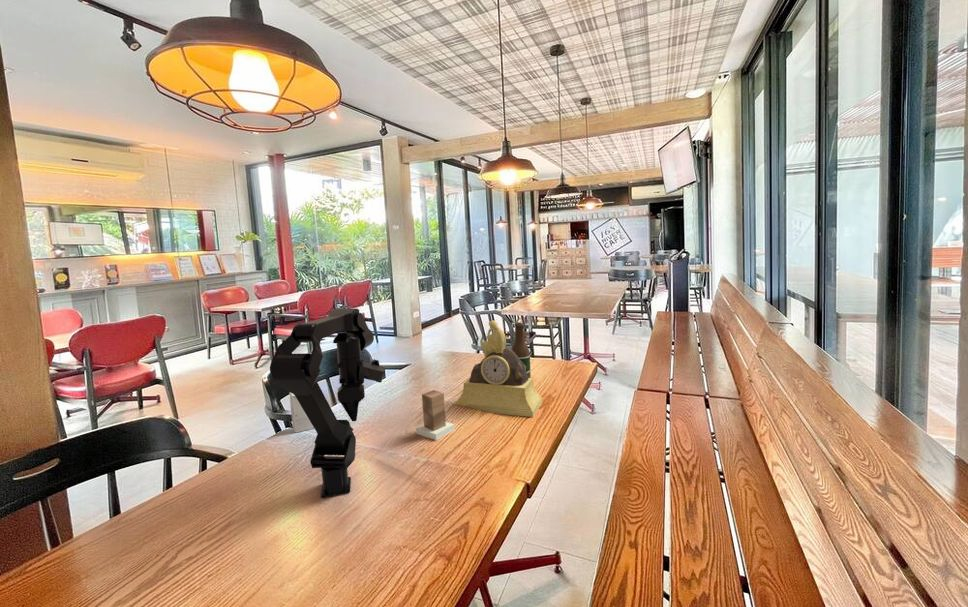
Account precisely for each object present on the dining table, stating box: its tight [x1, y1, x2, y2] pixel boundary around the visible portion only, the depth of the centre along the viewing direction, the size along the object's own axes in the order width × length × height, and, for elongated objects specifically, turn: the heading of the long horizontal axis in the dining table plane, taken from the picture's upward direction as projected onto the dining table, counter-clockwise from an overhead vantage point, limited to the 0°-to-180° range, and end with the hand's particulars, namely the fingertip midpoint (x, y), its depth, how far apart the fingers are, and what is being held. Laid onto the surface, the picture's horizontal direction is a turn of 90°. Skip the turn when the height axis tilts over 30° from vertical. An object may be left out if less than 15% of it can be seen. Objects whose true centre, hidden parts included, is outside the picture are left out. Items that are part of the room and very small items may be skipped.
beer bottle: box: [510, 322, 531, 378], centre depth 171 cm, size 8×8×24 cm
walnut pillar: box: [421, 390, 447, 431], centre depth 125 cm, size 4×4×10 cm
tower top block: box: [415, 421, 456, 441], centre depth 126 cm, size 8×8×2 cm
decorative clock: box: [452, 320, 543, 418], centre depth 146 cm, size 28×13×30 cm, turn 69°
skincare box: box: [289, 392, 314, 433], centre depth 135 cm, size 6×4×12 cm
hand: (354, 414), depth 112 cm, fingers open, 9 cm apart
